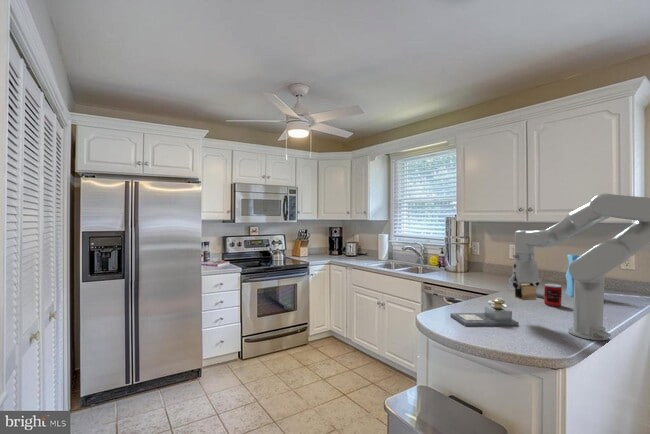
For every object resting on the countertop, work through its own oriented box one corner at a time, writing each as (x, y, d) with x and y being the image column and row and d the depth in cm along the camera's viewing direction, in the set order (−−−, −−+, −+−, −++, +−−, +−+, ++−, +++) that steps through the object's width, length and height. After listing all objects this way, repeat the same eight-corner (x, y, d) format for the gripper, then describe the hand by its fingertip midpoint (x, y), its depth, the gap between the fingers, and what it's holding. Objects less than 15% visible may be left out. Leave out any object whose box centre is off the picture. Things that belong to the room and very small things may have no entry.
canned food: (554, 303, 185) (554, 283, 184) (565, 307, 177) (565, 286, 176) (540, 303, 184) (541, 283, 184) (550, 307, 176) (551, 286, 176)
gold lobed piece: (507, 311, 148) (507, 301, 148) (496, 311, 148) (496, 301, 148) (500, 308, 153) (500, 298, 153) (489, 308, 153) (489, 298, 153)
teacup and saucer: (485, 304, 181) (485, 296, 181) (496, 303, 184) (496, 295, 184) (499, 308, 173) (499, 300, 173) (510, 307, 176) (510, 299, 176)
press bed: (518, 325, 144) (518, 313, 144) (465, 326, 142) (465, 313, 142) (498, 316, 158) (499, 304, 158) (450, 316, 156) (450, 304, 156)
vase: (571, 297, 199) (572, 256, 199) (565, 294, 208) (566, 254, 208) (590, 299, 196) (591, 257, 196) (583, 295, 205) (584, 255, 205)
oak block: (536, 299, 148) (536, 286, 148) (523, 300, 147) (523, 286, 148) (527, 297, 154) (526, 284, 154) (515, 297, 153) (514, 284, 154)
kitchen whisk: (555, 302, 187) (555, 291, 187) (502, 290, 217) (503, 281, 217) (561, 301, 189) (561, 291, 189) (509, 290, 219) (509, 280, 219)
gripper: (512, 258, 147) (512, 299, 146) (548, 257, 148) (549, 298, 148) (501, 256, 154) (502, 295, 154) (536, 256, 156) (537, 294, 155)
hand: (525, 296), depth 151 cm, fingers closed on oak block, 6 cm apart
